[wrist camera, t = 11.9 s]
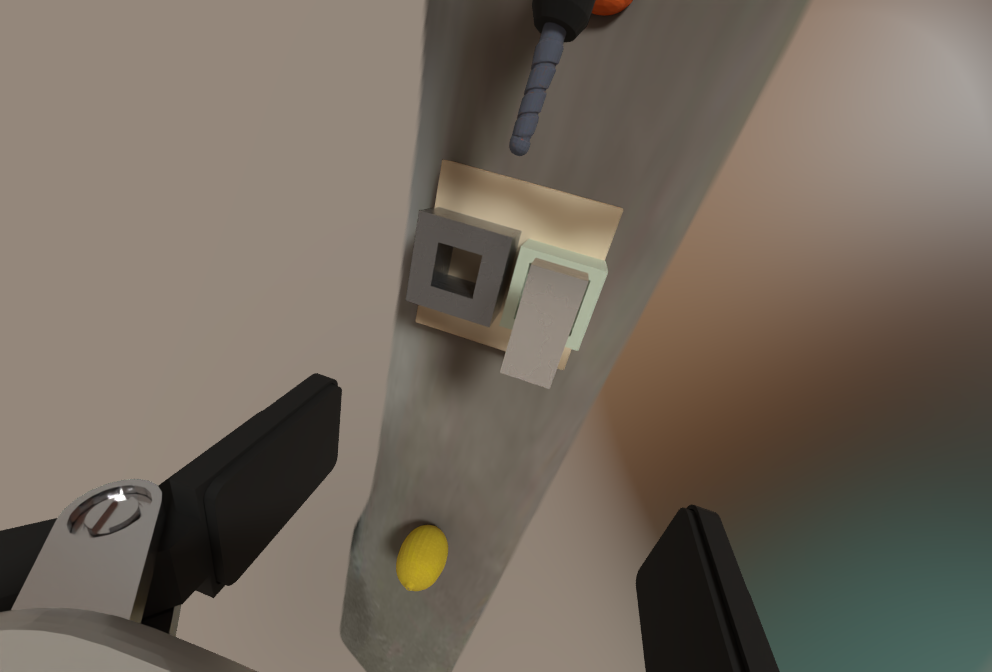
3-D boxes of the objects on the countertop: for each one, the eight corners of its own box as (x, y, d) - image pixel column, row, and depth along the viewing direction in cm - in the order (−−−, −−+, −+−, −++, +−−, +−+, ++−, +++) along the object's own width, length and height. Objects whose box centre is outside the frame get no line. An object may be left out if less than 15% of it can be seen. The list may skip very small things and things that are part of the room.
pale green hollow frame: (528, 238, 30) (520, 246, 26) (605, 261, 29) (608, 272, 25) (509, 309, 32) (499, 325, 29) (579, 331, 32) (578, 351, 28)
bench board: (451, 160, 31) (442, 159, 29) (621, 207, 29) (623, 209, 27) (423, 315, 36) (415, 321, 35) (564, 360, 35) (563, 370, 33)
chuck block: (439, 207, 30) (419, 210, 27) (521, 231, 30) (512, 237, 26) (425, 287, 33) (405, 300, 30) (500, 311, 32) (489, 327, 29)
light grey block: (548, 238, 29) (531, 264, 20) (588, 250, 29) (588, 281, 20) (524, 318, 32) (499, 372, 23) (560, 330, 32) (549, 389, 23)
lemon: (465, 531, 46) (442, 595, 39) (439, 549, 49) (413, 613, 42) (431, 503, 46) (402, 563, 39) (406, 522, 48) (375, 582, 41)
